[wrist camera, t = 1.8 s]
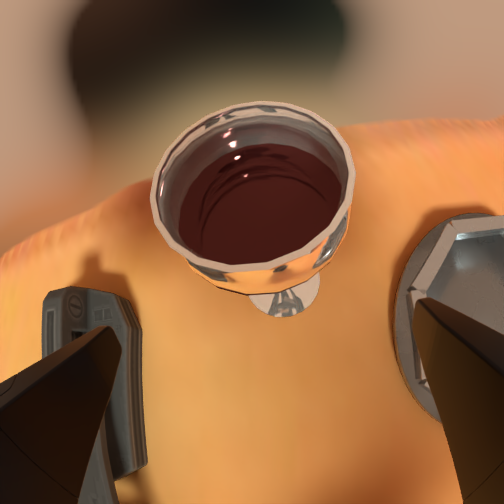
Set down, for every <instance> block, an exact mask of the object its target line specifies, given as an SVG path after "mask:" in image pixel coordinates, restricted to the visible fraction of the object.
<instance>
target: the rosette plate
mask: <svg viewBox="0 0 504 504" xmlns="http://www.w3.org/2000/svg"><path fill="white" fill-rule="evenodd" d="M426 297H431V298H433V299H435V300H437V301H439V302H441V303H443V304H445V305H447V306H449V307H451V308H453V309H455V310H457V311H459V312H461V313H463V314H465V315H467V316H469V317H471V318H473V319H475V320H477V321H479V322H481V323H482V324H484V325H486V326H488V327H490V328H492V329H494V330H496V331H498V332H500V333H502V334H503V335H504V215H503V216H492V215H489V214H482V213H468V214H462V215H458V216H455V217H452V218H449V219H447V220H446V221H444V222H442V223H440V224H439V225H437V226H436V227H435V228H433V229H432V230H431V231H430V232H429V233H428V234H427V235H426V236H425V237H424V238H423V239H422V240H421V242H420V243H419V244H418V246H417V247H416V249H415V250H414V251H413V253H412V254H411V256H410V258H409V260H408V261H407V263H406V265H405V267H404V270H403V272H402V275H401V277H400V280H399V284H398V288H397V291H396V296H395V302H394V309H393V340H394V347H395V353H396V358H397V361H398V365H399V368H400V372H401V374H402V377H403V379H404V381H405V384H406V386H407V388H408V389H409V391H410V393H411V394H412V396H413V398H414V399H415V400H416V402H417V403H418V404H419V405H420V407H421V408H422V409H423V410H424V411H425V412H426V413H427V414H429V415H430V416H431V417H432V418H434V419H435V420H437V421H438V422H440V423H441V424H442V422H441V419H440V416H439V413H438V410H437V407H436V404H435V401H434V399H433V396H432V393H431V390H430V388H429V385H428V382H427V379H426V377H425V373H424V370H423V366H422V362H421V358H420V355H419V351H418V348H417V344H416V340H415V337H414V334H413V329H412V322H413V315H414V308H415V303H416V301H417V300H418V299H421V298H426Z"/></svg>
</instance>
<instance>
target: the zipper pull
mask: <svg viewBox="0 0 504 504" xmlns="http://www.w3.org/2000/svg"><path fill="white" fill-rule="evenodd" d="M98 326H111V327H112V328H113V329H114V331H115V334H116V336H117V338H118V340H119V342H120V344H121V347H122V355H121V358H120V362H119V366H118V370H117V374H116V378H115V382H114V386H113V389H112V393H111V396H110V399H109V402H108V404H107V407H106V410H105V413H104V416H103V419H102V422H101V425H100V428H99V431H98V434H97V437H96V441H95V444H94V447H93V450H92V454H91V457H90V460H89V464H88V467H87V471H86V474H85V478H84V481H83V485H82V489H81V493H80V496H79V501H78V504H119V501H118V497H117V493H116V489H115V484H114V481H116V480H118V479H121V478H123V477H125V476H127V475H129V474H131V473H133V472H135V471H136V470H138V469H140V468H142V467H143V466H145V465H147V463H148V458H147V448H146V437H145V424H144V409H143V389H142V329H141V327H140V325H139V323H138V320H137V318H136V316H135V314H134V312H133V309H132V307H131V305H130V302H129V301H128V300H126V299H124V298H122V297H120V296H118V295H116V294H113V293H109V292H104V291H99V290H94V289H90V288H82V287H74V286H70V287H66V288H62V289H57V290H53V291H50V292H49V293H48V294H47V296H46V297H45V299H44V301H43V309H42V359H43V358H45V357H46V356H48V355H50V354H52V353H53V352H55V351H57V350H58V349H60V348H62V347H64V346H65V345H67V344H69V343H71V342H72V341H74V340H76V339H78V338H79V337H81V336H83V335H84V334H86V333H88V332H90V331H91V330H93V329H95V328H97V327H98Z"/></svg>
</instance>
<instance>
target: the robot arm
mask: <svg viewBox="0 0 504 504" xmlns="http://www.w3.org/2000/svg"><path fill="white" fill-rule="evenodd" d="M412 329H413V334H414V337H415V340H416V344H417V348H418V351H419V355H420V358H421V362H422V366H423V370H424V373H425V377H426V379H427V382H428V385H429V388H430V390H431V393H432V396H433V399H434V401H435V404H436V407H437V410H438V413H439V416H440V419H441V422H442V425H443V428H444V431H445V435H446V438H447V441H448V444H449V448H450V451H451V455H452V458H453V462H454V466H455V469H456V473H457V477H458V481H459V486H460V490H461V494H462V499H463V500H464V501H463V504H504V335H503V334H502V333H500V332H498V331H496V330H494V329H492V328H490V327H488V326H486V325H484V324H482V323H481V322H479V321H477V320H475V319H473V318H471V317H469V316H467V315H465V314H463V313H461V312H459V311H457V310H455V309H453V308H451V307H449V306H447V305H445V304H443V303H441V302H439V301H437V300H435V299H433V298H431V297H426V298H421V299H418V300H417V301H416V303H415V308H414V315H413V322H412ZM121 355H122V347H121V344H120V342H119V340H118V338H117V336H116V334H115V331H114V329H113V328H112V327H111V326H98V327H97V328H95V329H93V330H91V331H90V332H88V333H86V334H84V335H83V336H81V337H79V338H78V339H76V340H74V341H72V342H71V343H69V344H67V345H65V346H64V347H62V348H60V349H58V350H57V351H55V352H53V353H52V354H50V355H48V356H46V357H45V358H43V359H41V360H40V361H38V362H36V363H34V364H33V365H31V366H29V367H28V368H26V369H24V370H22V371H21V372H19V373H18V374H16V375H14V376H12V377H10V378H9V379H7V380H5V381H3V382H2V383H0V504H78V501H79V496H80V493H81V489H82V485H83V481H84V478H85V474H86V471H87V467H88V464H89V460H90V457H91V454H92V450H93V447H94V444H95V441H96V437H97V434H98V431H99V428H100V425H101V422H102V419H103V416H104V413H105V410H106V407H107V404H108V402H109V399H110V396H111V393H112V389H113V386H114V382H115V378H116V374H117V370H118V366H119V362H120V358H121Z"/></svg>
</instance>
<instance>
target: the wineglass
mask: <svg viewBox="0 0 504 504" xmlns="http://www.w3.org/2000/svg"><path fill="white" fill-rule="evenodd" d="M355 176H356V171H355V168H354V164H353V160H352V156H351V152H350V149H349V146H348V145H347V144H346V142H345V141H344V139H343V138H342V137H341V135H340V134H339V133H338V131H337V130H336V129H335V127H334V126H333V125H331V124H330V123H328V122H327V121H326V120H324V119H323V118H321V117H320V116H318V115H317V114H315V113H314V112H312V111H309V110H307V109H304V108H301V107H298V106H295V105H291V104H289V103H282V102H269V101H256V102H249V103H242V104H236V105H232V106H229V107H227V108H224V109H221V110H218V111H216V112H213V113H211V114H208V115H206V116H205V117H203V118H202V119H200V120H199V121H197V122H196V123H194V124H193V125H192V126H190V127H188V128H187V129H185V130H184V131H183V132H182V133H181V134H180V135H179V136H178V137H177V138H176V140H175V141H174V142H173V143H172V144H171V145H170V146H169V147H168V148H167V150H166V151H165V153H164V155H163V157H162V159H161V161H160V163H159V164H158V166H157V168H156V170H155V172H154V176H153V182H152V187H151V193H150V203H151V208H152V214H153V219H154V224H155V225H156V227H157V228H158V230H159V231H160V233H161V234H162V236H163V237H164V239H165V241H166V242H167V244H168V245H169V247H171V248H172V249H174V250H175V251H177V252H178V253H180V254H181V255H182V256H183V258H184V259H185V260H186V262H187V263H188V265H189V266H190V268H191V269H192V270H193V271H194V272H196V273H197V274H199V275H200V276H201V277H203V278H204V279H206V280H207V281H209V282H210V283H212V284H213V285H215V286H216V287H218V288H220V289H224V290H227V291H231V292H235V293H239V294H243V295H247V296H248V295H249V298H250V300H251V301H252V302H253V304H254V305H255V306H256V307H257V308H258V309H260V310H261V311H263V312H264V313H266V314H268V315H272V316H276V317H286V316H292V315H295V314H297V313H300V312H302V311H303V310H304V309H306V308H307V307H308V306H309V305H310V304H311V303H312V302H313V300H314V298H315V297H316V295H317V293H318V289H319V285H320V276H319V271H320V270H322V269H323V268H324V267H325V266H326V265H328V263H329V262H330V261H331V259H332V258H333V256H334V254H335V253H336V251H337V249H338V248H339V246H340V244H341V242H342V241H343V239H344V237H345V235H346V234H347V230H348V225H349V219H350V213H351V207H352V206H351V202H352V197H353V190H354V183H355Z"/></svg>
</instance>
